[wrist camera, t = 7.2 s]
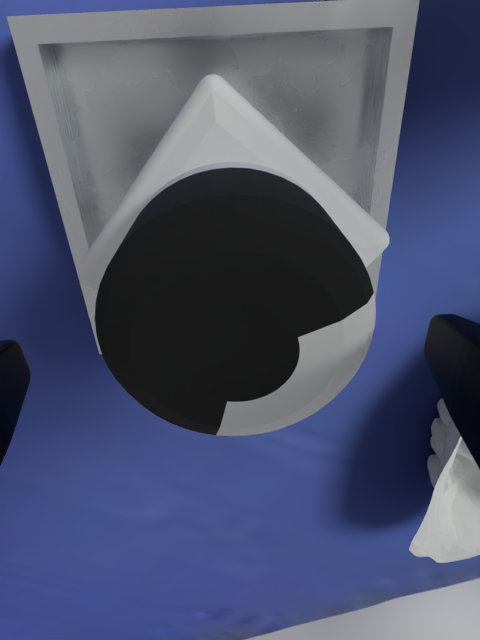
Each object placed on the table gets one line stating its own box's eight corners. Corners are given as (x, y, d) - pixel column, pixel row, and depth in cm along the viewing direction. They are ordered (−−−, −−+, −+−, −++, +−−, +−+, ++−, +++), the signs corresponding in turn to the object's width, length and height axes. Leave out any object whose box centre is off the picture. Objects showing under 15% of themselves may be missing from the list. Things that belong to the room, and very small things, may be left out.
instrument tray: (400, 4, 15) (419, -4, 14) (359, 320, 23) (369, 338, 21) (28, 22, 15) (6, 16, 14) (107, 334, 22) (99, 353, 21)
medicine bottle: (119, 211, 19) (-8, 381, 8) (213, 69, 16) (199, 59, 6) (240, 296, 21) (258, 507, 11) (339, 186, 18) (490, 328, 8)
